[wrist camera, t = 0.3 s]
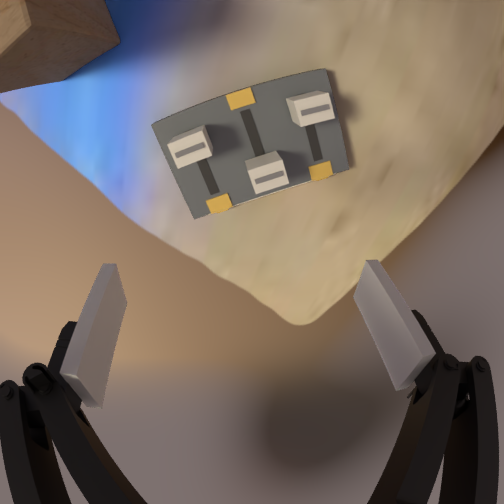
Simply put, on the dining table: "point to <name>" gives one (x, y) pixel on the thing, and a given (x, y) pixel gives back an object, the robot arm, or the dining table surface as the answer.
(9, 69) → the wooden block
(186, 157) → the slider
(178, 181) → the console
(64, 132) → the dining table surface
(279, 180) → the slider
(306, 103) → the slider
